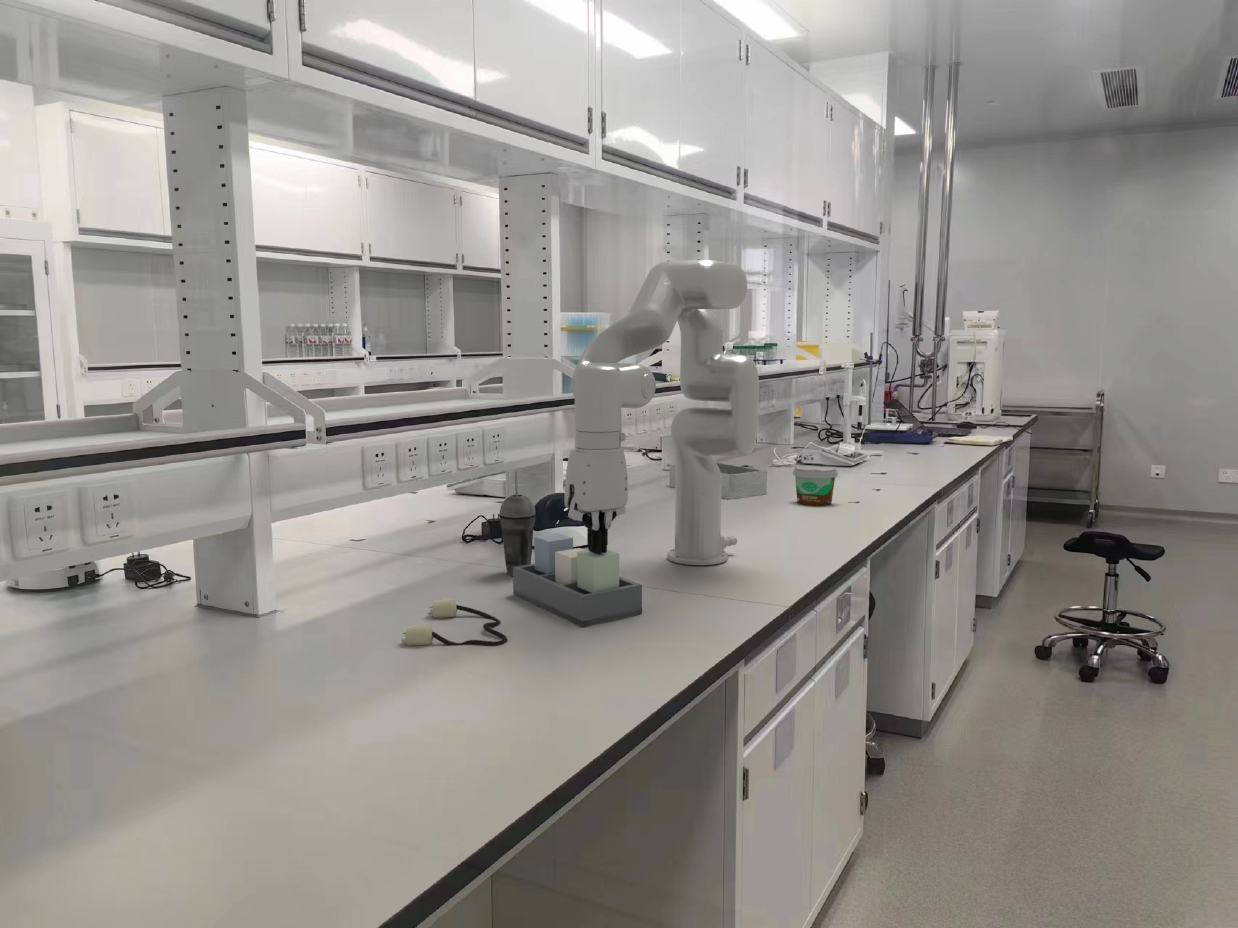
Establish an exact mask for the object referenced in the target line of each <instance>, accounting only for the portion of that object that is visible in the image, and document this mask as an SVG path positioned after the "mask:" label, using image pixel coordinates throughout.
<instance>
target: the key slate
mask: <svg viewBox="0 0 1238 928" xmlns="http://www.w3.org/2000/svg"><path fill="white" fill-rule="evenodd" d="M533 539H534V545H533V546H534V548H533V549H534V551H533V552H534V564H535V569H536V570H538V571H540V572H543V573H545V574H550V573H555V552H558V551H564V550H570V549H574V537H571V536H569V535H565V534H562V533H559V532H555V533H550V534H549V533H548V534H543V535H537V536H533Z"/></svg>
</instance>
